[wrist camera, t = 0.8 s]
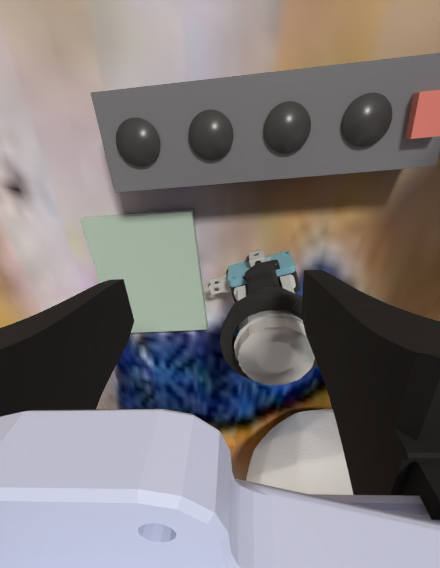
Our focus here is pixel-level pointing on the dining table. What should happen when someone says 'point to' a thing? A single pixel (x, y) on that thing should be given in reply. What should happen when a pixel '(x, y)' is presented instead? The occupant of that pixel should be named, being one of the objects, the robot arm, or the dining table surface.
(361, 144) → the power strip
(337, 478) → the white rounded upright lump
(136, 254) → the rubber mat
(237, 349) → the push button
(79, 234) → the dining table surface
